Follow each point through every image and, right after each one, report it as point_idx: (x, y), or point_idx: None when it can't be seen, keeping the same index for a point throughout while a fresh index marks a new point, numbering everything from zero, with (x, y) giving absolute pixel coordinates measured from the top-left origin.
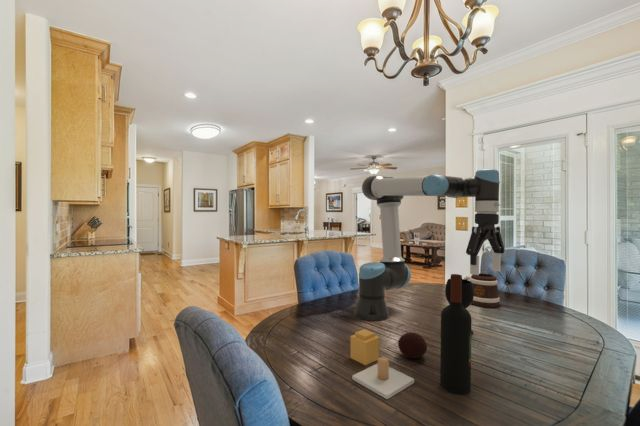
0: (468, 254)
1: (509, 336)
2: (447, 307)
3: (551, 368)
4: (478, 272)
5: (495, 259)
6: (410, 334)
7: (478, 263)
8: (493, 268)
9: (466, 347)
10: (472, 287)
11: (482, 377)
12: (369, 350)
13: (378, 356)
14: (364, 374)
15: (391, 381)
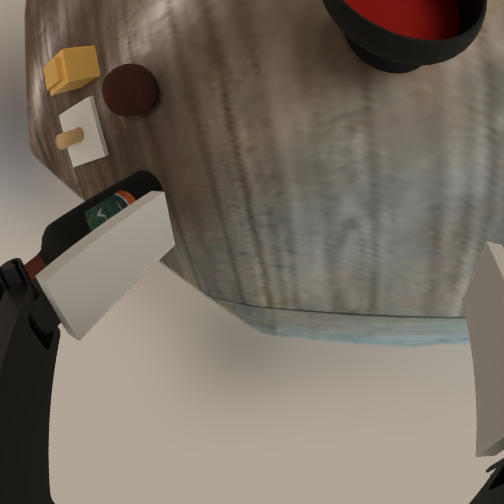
0: (18, 270)
1: (478, 159)
2: (41, 246)
3: (349, 271)
4: (160, 253)
5: (500, 360)
6: (105, 95)
7: (115, 295)
8: (485, 268)
9: None
10: (436, 55)
11: (200, 201)
12: (68, 88)
13: (95, 77)
14: (67, 118)
15: (83, 147)
